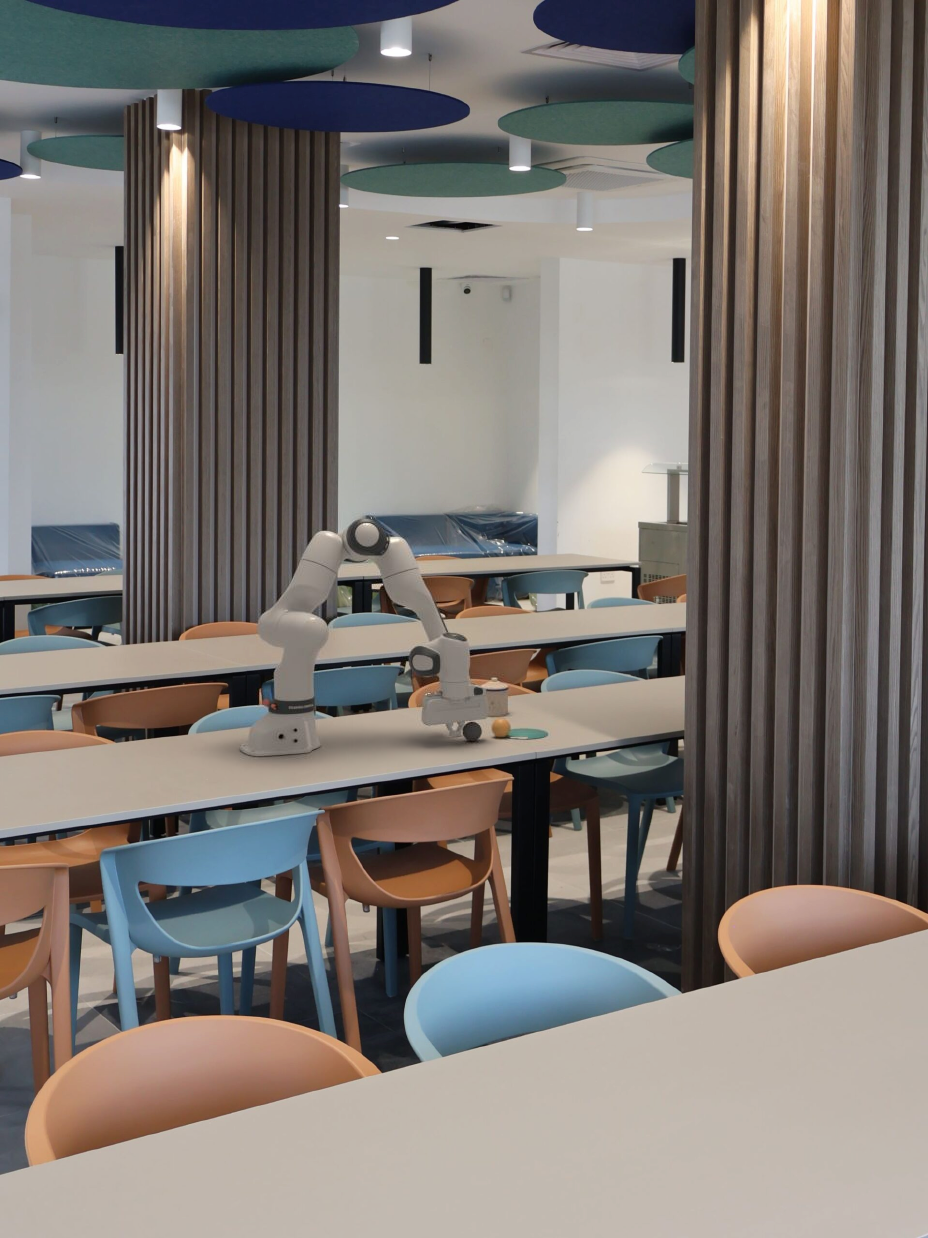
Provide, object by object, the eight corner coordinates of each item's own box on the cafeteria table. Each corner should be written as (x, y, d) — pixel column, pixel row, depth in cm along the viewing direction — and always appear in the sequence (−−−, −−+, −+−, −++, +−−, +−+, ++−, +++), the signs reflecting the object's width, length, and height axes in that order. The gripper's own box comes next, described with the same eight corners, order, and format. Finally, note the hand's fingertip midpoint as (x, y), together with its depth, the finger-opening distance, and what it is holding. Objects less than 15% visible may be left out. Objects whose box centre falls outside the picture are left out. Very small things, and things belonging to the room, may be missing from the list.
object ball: (496, 722, 368) (512, 718, 371) (487, 719, 373) (503, 714, 376) (498, 741, 369) (515, 736, 372) (489, 737, 374) (505, 732, 377)
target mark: (515, 741, 367) (515, 740, 367) (492, 732, 379) (492, 731, 379) (557, 736, 374) (557, 735, 374) (532, 727, 386) (532, 726, 386)
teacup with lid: (499, 710, 412) (499, 674, 410) (513, 715, 404) (513, 678, 403) (467, 714, 406) (466, 678, 405) (481, 719, 398) (480, 682, 397)
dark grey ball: (481, 720, 366) (487, 738, 367) (473, 716, 371) (478, 733, 372) (465, 729, 364) (471, 746, 365) (456, 724, 369) (462, 742, 370)
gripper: (427, 695, 356) (427, 743, 358) (491, 688, 366) (491, 735, 368) (417, 691, 362) (417, 739, 364) (480, 685, 371) (480, 731, 373)
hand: (455, 737), depth 366 cm, fingers closed
